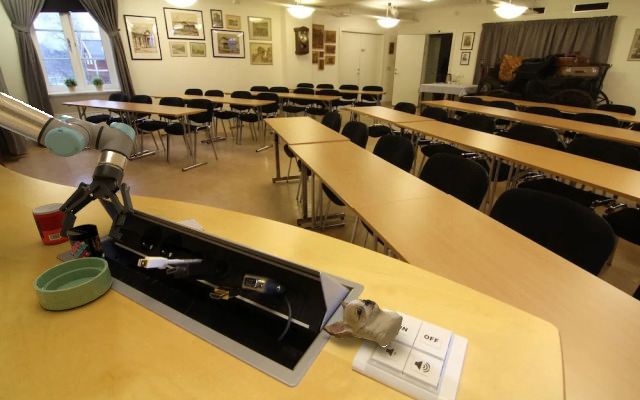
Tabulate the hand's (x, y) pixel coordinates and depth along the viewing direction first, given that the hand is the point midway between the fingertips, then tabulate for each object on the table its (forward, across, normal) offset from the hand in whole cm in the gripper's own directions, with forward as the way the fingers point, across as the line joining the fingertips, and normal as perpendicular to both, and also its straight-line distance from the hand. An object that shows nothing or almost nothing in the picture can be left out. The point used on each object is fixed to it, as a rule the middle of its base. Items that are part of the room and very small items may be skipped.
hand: (88, 237), depth 88 cm
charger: (-2, -23, -13) cm, 26 cm away
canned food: (-3, +20, -14) cm, 24 cm away
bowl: (+15, -6, +5) cm, 17 cm away
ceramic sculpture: (+24, -74, +13) cm, 78 cm away
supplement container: (+6, 0, -4) cm, 8 cm away
